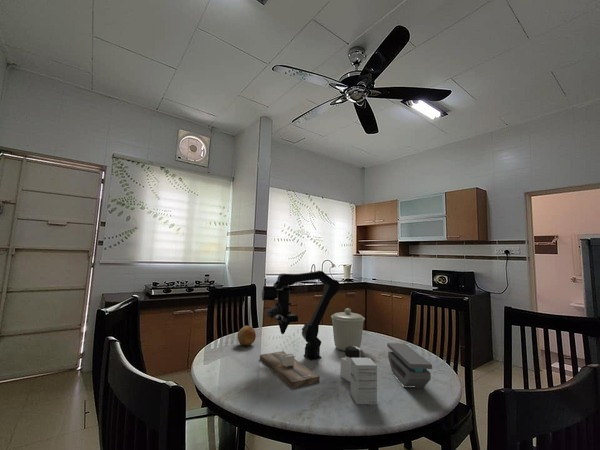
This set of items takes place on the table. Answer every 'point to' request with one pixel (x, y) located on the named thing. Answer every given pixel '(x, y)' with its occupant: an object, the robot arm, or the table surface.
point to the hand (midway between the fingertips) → (282, 334)
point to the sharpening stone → (408, 365)
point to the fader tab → (288, 360)
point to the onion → (246, 335)
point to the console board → (290, 370)
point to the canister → (347, 329)
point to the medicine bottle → (348, 361)
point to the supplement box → (363, 381)
